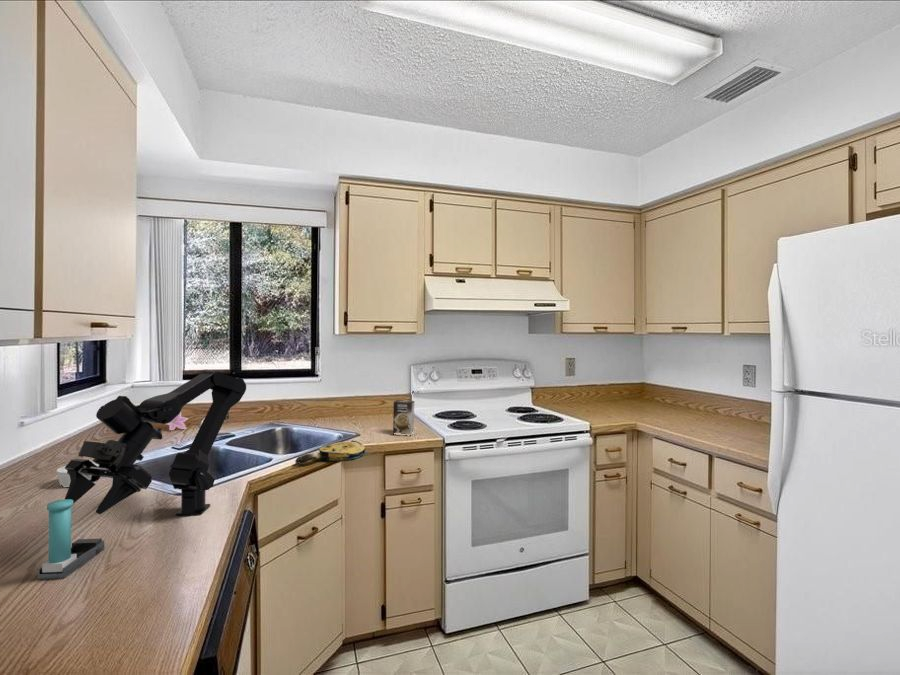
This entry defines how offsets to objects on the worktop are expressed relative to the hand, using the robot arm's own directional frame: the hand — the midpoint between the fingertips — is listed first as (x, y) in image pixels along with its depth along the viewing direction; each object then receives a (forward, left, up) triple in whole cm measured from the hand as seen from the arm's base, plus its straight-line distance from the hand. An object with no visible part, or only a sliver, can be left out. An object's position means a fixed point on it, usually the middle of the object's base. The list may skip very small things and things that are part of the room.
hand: (80, 510), depth 95 cm
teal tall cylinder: (+4, -1, -10) cm, 11 cm away
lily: (-134, -43, -11) cm, 141 cm away
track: (0, -1, -11) cm, 11 cm away
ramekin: (-54, -34, -11) cm, 65 cm away
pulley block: (-78, +40, -11) cm, 88 cm away
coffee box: (-119, +68, -11) cm, 137 cm away
